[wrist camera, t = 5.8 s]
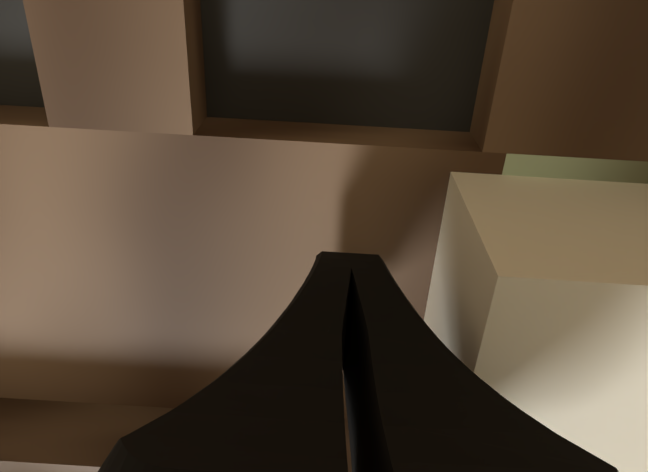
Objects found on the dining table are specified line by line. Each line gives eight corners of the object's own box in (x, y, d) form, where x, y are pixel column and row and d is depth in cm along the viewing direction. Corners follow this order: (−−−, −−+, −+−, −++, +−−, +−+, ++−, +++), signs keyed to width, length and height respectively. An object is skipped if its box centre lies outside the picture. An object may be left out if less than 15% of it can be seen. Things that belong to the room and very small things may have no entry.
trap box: (813, -53, 10) (1008, -49, 7) (608, 419, 17) (667, 527, 14) (-412, -121, 11) (-720, -145, 7) (-156, 373, 17) (-267, 469, 14)
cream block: (687, 186, 11) (842, 297, 8) (612, 365, 14) (705, 511, 10) (450, 171, 11) (498, 276, 8) (418, 353, 14) (442, 494, 10)
